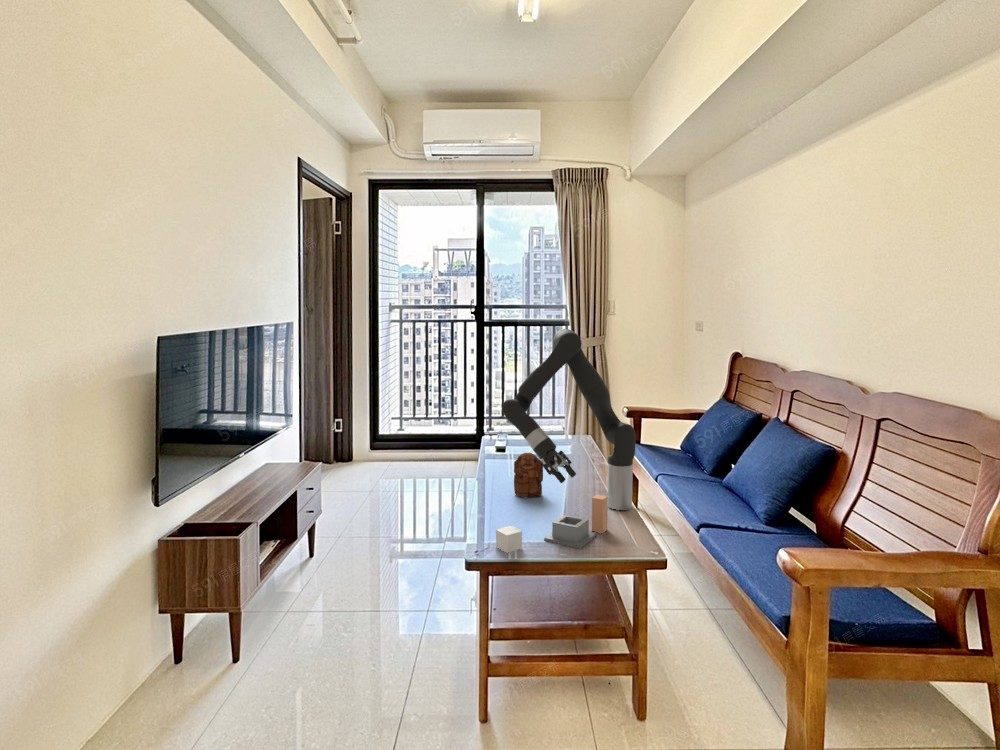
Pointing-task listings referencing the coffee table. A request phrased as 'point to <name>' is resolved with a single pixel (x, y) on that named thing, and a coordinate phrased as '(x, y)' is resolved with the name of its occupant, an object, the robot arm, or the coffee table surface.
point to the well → (570, 531)
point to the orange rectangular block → (599, 513)
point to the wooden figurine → (528, 476)
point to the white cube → (508, 539)
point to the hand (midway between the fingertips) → (569, 478)
